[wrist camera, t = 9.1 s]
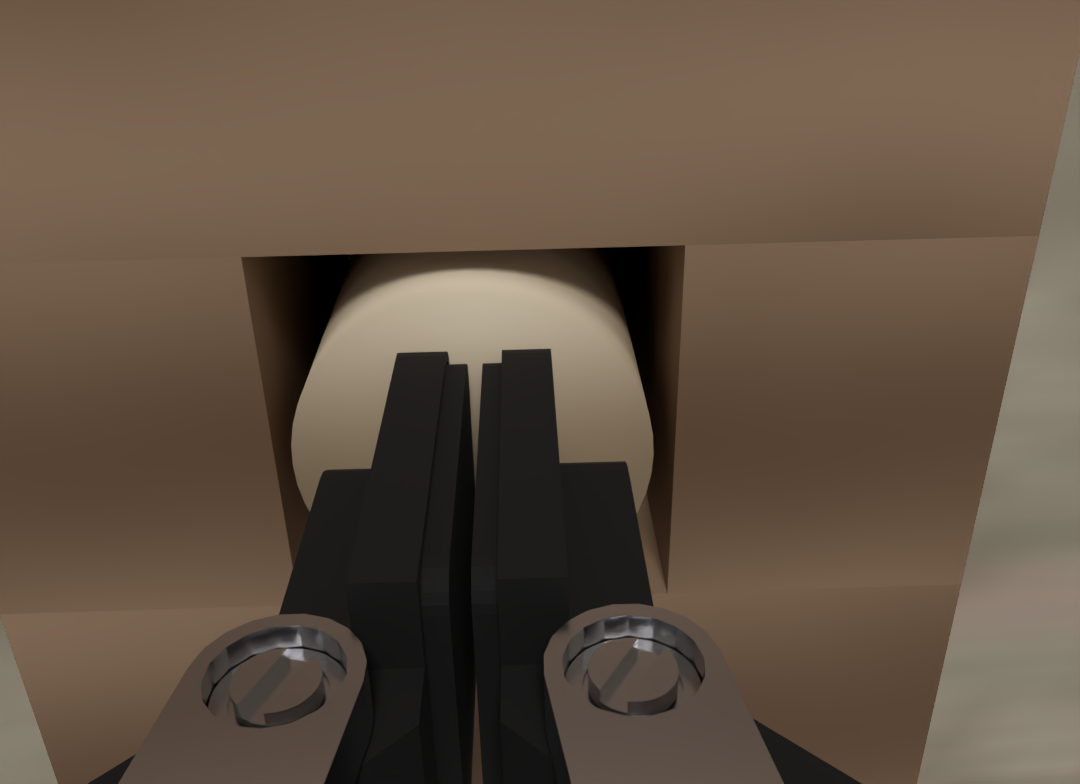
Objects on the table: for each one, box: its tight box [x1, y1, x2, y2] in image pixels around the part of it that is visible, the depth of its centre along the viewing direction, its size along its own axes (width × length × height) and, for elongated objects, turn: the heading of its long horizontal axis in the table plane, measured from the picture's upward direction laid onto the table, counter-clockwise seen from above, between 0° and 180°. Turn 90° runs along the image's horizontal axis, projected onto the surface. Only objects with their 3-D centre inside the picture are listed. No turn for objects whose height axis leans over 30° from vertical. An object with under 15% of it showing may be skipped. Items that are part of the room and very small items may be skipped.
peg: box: [291, 247, 654, 514], centre depth 14 cm, size 4×4×6 cm
